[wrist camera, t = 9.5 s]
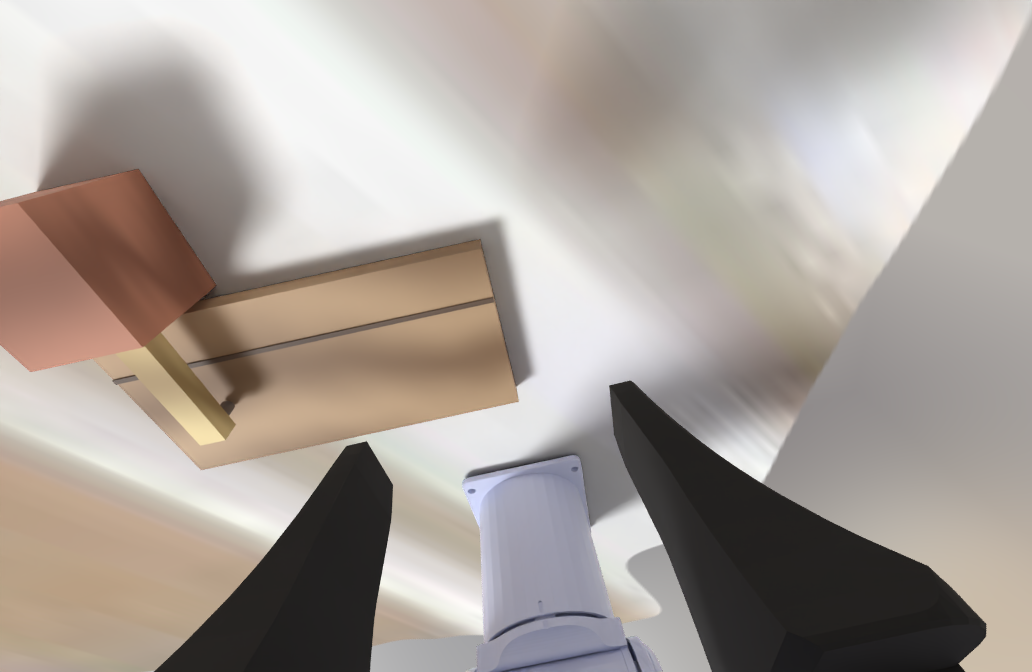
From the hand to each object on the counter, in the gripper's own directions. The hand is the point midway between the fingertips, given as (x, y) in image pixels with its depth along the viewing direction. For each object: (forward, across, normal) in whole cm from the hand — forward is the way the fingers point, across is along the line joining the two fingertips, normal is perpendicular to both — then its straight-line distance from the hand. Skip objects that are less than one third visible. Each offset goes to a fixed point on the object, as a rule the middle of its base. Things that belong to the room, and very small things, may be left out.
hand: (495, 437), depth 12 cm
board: (+9, +8, +2) cm, 13 cm away
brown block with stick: (+9, +13, -3) cm, 17 cm away
